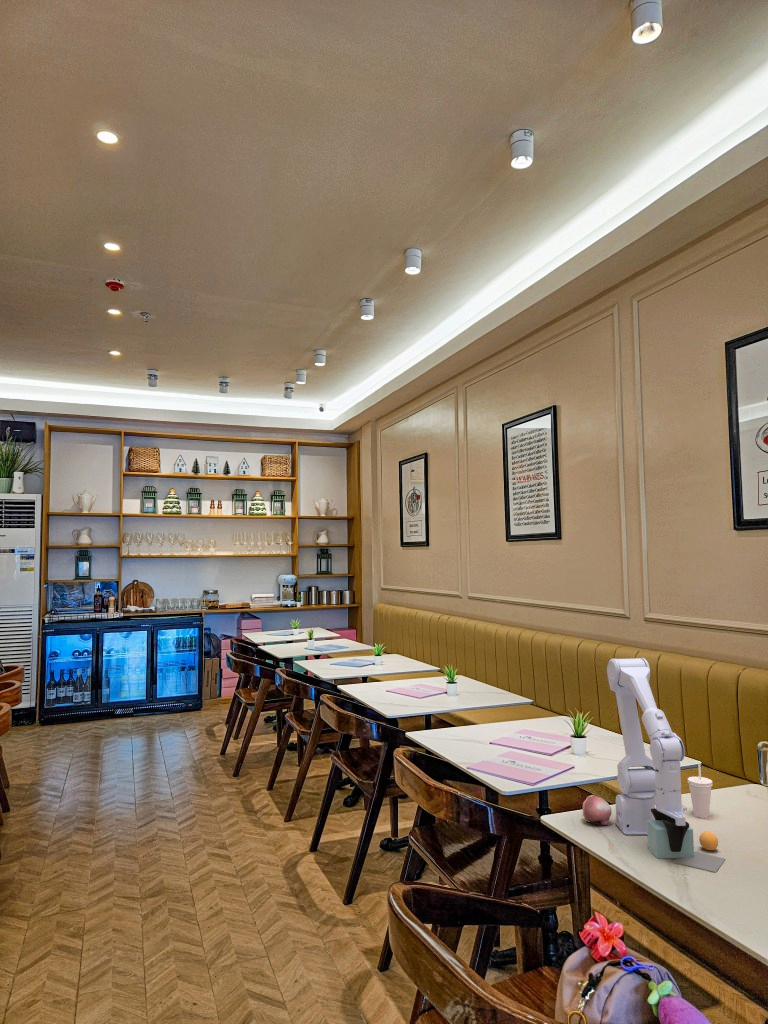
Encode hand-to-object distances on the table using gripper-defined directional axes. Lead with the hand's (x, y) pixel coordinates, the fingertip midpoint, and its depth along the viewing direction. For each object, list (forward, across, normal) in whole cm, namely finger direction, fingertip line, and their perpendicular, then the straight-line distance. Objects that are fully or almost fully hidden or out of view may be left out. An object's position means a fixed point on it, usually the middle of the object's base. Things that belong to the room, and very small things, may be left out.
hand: (670, 845), depth 168 cm
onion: (+2, +20, +12) cm, 23 cm away
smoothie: (+2, +25, -18) cm, 31 cm away
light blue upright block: (+2, 0, 0) cm, 2 cm away
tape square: (+2, -5, -5) cm, 7 cm away
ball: (0, +2, -10) cm, 10 cm away
